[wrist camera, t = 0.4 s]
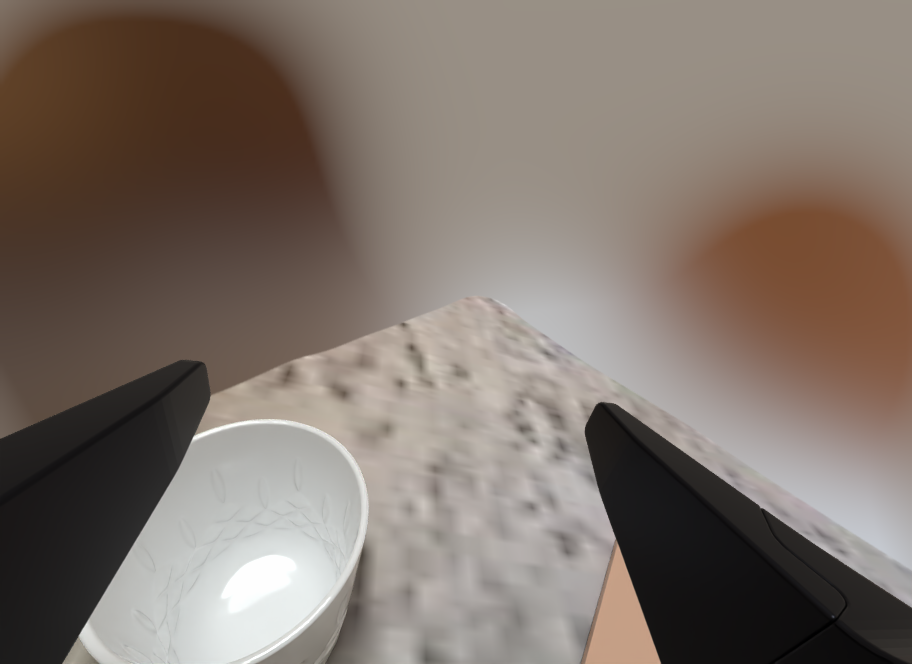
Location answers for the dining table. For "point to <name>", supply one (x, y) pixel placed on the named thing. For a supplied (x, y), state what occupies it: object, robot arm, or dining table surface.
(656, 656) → the tile
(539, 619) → the dining table surface
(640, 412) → the dining table surface
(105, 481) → the robot arm
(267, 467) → the white cup
